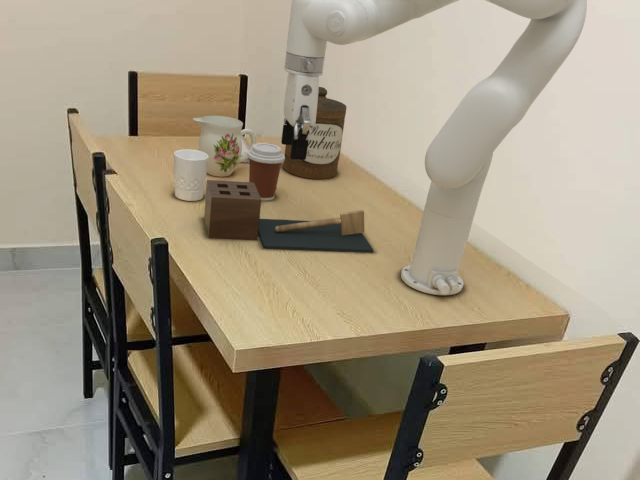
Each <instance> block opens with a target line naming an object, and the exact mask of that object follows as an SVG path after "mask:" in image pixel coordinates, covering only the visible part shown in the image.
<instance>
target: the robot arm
mask: <svg viewBox="0 0 640 480" xmlns="http://www.w3.org/2000/svg"><path fill="white" fill-rule="evenodd" d="M458 1H459V0H291V5H290V14H289V23H288V32H287V40H286V50H285V58H284V67H283V69H284V71H285V72H287V73H288V74H287V79H286V87H285V93H284V103H283V115H284V119H283V125H282V133H281V141H280V143H281V144H282V145H285V146H286V145H291V153H290V158H291V159H299V160H305V159H306V156H307V148H308V141H309V132H310V130H309V127H310V128H314V127H315V123H316V113H317V103H318V91H319V87H320V76H323V74H324V73H323V71H324V65H325V58H326V57H325V56H326V52H327V44H328V43H331V44H334V45H337V46H346V45H351V44H354V43H357V42H362V41H366V40H368V39H371V38H374V37H376V36H378V35H380V34H383V33H385V32H387V31H389V30H392V29H394V28H397V27H399V26H401V25H404V24H405V23H408V22H411V21H412V20H415V19H420V18H422V17H424V16H426V15H428V14H431V13H433V12H436V11H438V10H440V9H442V8H444V7H447V6H449V5H451V4H454V3H456V2H458ZM485 1H486V2H488V3H491V4H493V5H495V6H498V7H499V8H502V9H503V10H506V11H508V12H511V13H513V14H515V15H517V16H520V17H522V18H526V19H529V20H530V21H529V23H528V25H527V27H526V28H525V30H524V31H523V32H522V33H521V35H519V37H518V38H517V39H516V41H515V42H514V44H512V47H511V48H510V50H509V51H508V53H506V55H505V57H504V58H503V59H502V61H501V62H500V64H499V65H498V66H497V67H496V69H495V70H494V71H493V72H492V73H491V74H490V75H488V76H487V77H486V78H484V79H482V80H481V81H479V82H477V83H476V84H475V85H473V87H472V88H470V89H469V91H468V92H467V93H466V94H465V96H464V97H463V98H462V99H461V101H460V102H459V103H458V105H457V107H456V108H455V109H454V110H453V112H452V113H451V115H450V116H449V117H448V119H447V120H446V121H445V124H443V126H441V129H440V130H439V131H438V133H437V134H436V135H435V137H434V138H433V140H432V141H431V142H430V144H429V145H428V148H427V149H426V152H425V156H424V169H425V173H426V175H427V177H428V178H429V180H430V181H431V182H430V184H429V189H428V193H427V196H426V200H425V204H424V208H423V213H422V216H421V222H420V226H419V230H418V234H417V238H416V243H415V246H414V251H413V255H412V259H411V264H408V265H405V266H404V267H403V268H402V269H401V274H400V278H401V280H402V281H403V282H404V284H406V285H407V286H408V287H410V288H412V289H413V290H416V291H418V292H421V293H424V294H429V295H433V296H453V295H456V294H458V293H460V292H461V291H462V290H463V287H464V283H465V282H464V280H463V278H462V277H461V276H460V275H459V273H460V269H461V266H462V262H463V258H464V255H465V251H466V247H467V243H468V240H469V237H470V232H471V229H472V225H473V221H474V218H475V215H476V211H477V207H478V204H479V200H480V197H481V193H482V190H483V188H484V184H485V181H486V178H487V176H488V173H489V170H490V167H491V164H492V160H493V156H494V152H495V151H496V149H497V148H498V147H499V146H500V144H501V143H502V142H503V141H504V139H506V137H507V136H508V135H509V133H510V132H511V131H512V130H513V129H514V128H515V127H516V126H517V125H518V124H519V123H520V122H521V121H522V120H523V119H524V117H525V116H526V114H527V113H528V111H529V109H530V107H531V106H532V104H533V103H534V102H535V100H536V99H537V98H538V97H539V95H540V94H541V93H542V91H543V90H544V89H545V88H546V87H547V85H548V84H549V83H550V81H551V80H552V78H553V77H554V75H555V74H556V73H557V72H558V70H559V69H560V68H561V66H562V65H563V64H564V63H565V61H566V60H567V58H568V57H569V55H570V54H571V52H572V51H573V49H574V48H575V46H576V45H577V43H578V40H579V39H580V36H581V34H582V32H583V28H584V27H585V22H586V17H587V10H588V0H485ZM299 128H300V129H299ZM298 129H299V132H298Z"/></svg>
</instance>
